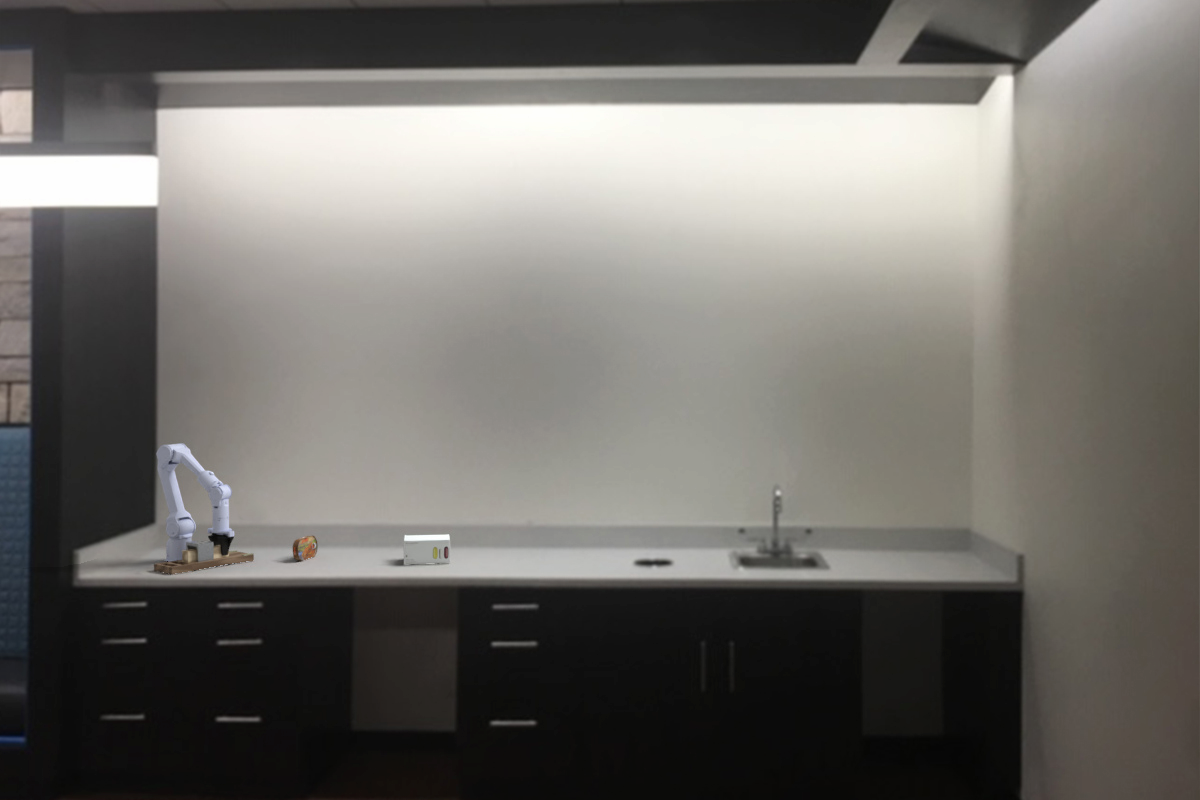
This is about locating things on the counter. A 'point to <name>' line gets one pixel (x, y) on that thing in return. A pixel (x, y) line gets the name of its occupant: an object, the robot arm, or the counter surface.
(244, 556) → the walnut deck
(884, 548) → the counter surface
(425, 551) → the supplement box
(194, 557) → the ash block
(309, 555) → the tin
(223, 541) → the robot arm
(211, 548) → the metal u-shaped holder
